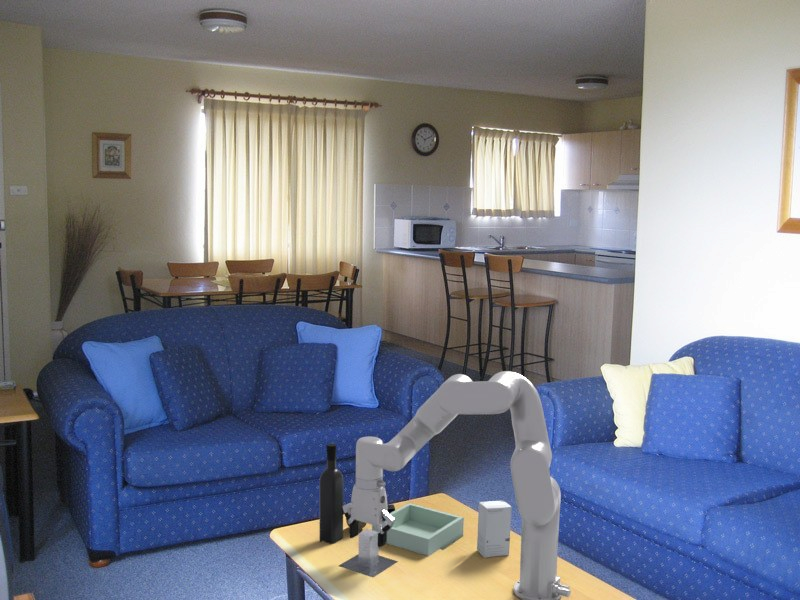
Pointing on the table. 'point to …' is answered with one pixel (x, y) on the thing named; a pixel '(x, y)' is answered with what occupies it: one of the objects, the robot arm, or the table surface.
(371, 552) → the strut
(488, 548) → the skincare box
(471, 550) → the table surface
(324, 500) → the wine bottle
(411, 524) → the bin
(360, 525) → the cup
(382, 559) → the stud plate
